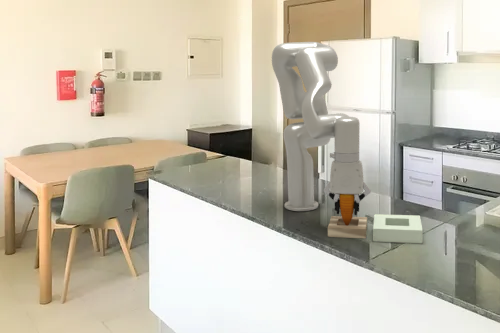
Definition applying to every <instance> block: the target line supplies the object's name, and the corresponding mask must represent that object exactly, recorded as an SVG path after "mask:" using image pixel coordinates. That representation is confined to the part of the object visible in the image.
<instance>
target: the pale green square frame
mask: <svg viewBox="0 0 500 333" xmlns="http://www.w3.org/2000/svg"><path fill="white" fill-rule="evenodd" d="M423 232H424V231H423V226H422V220H421V216H420V215H417V214H416V215H411V214H409V215H408V214H379V213H378V214H376V213H375V214H374V215H373V227H372V242H381V243H383V242H384V243H385V242H386V243H405V244H423V235H424V234H423Z"/></svg>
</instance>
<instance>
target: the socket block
mask: <svg viewBox="0 0 500 333" xmlns="http://www.w3.org/2000/svg"><path fill="white" fill-rule="evenodd" d="M367 230H368V217H366V216H353V217H352V219H351V222H350V223H349V225H348V226H346V225H345V223H344V221H343V219H342V216H339V215H334V216H333V215H331V217H330V220H329V222H328V226H327V237H329V238H347V239H348V238H351V239H367V232H368V231H367Z"/></svg>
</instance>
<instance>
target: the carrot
mask: <svg viewBox="0 0 500 333" xmlns="http://www.w3.org/2000/svg"><path fill="white" fill-rule="evenodd" d="M338 198H339V204H340V212H339V213H340V215H341V216H342V219H343V221H344V223H345V225H346V226H348V225H349V223H350V222H351V219H352V217H354V202H355V196H354V194H339V197H338Z"/></svg>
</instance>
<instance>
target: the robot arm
mask: <svg viewBox="0 0 500 333" xmlns="http://www.w3.org/2000/svg"><path fill="white" fill-rule="evenodd" d="M338 63H339V57H338V54H337V52H336V50H335V49H334V48H333V47H332V46H330V45H327V44H324V43H322V42H318V41H302V42H301V41H298V42H297V41H296V42H295V41H294V42H292V41H291V42H285V43H280V44H277V45H276V46H275V47H274V48H273V50H272V53H271V65H272V69H273V72H274V75H275V77H276V80H277V82H278V87H279V92H280V98H281V99H280V100H281V104H282V109H283V110H282V111H283V114H284V116H285V117H286V119H289V120H301V119H302V120H303V121H299V122H294V123H290V124H288V125H286V126H285V128H284V129H283V141H284V147H285V151H286V165H287V166H286V167H287V168H286V169H287V195H288V196H287V197H288V201H285V203H284V208H285V209H286V210H289V211H293V212H308V211H313V210H316V209H318V208H319V202H318V201H316V200H315V191H314V190H315V186H314V184H315V183H314V182H315V181H314V160H313V157H312V155H311V154H310V153H309V151H308V149H309V148H316V147H317V148H318V147H322V146H326V145H328V144H329V142H330V141H331V139H334V152H332V153H331V152H330V153H329V158H331V159H333V160H332V161H331V166H330V179H329V182H328V183H327V184H326V186H325V187H324V188H323V192H324V194H326V195H327V196H329V198H330V199H331V200H333V202H334V211H335V212H336V215H339V214H340V213H341V212H340V204H339V194H354V196H355V202H354V212H353V215H355V216H357V214H358V213H359V212H360V202H361V201H362V200H363V199H364V198H365V197H367V196H369V195H370V194H371V193H372V191H371V189H370V187H369V186H368V185H367V184H366V183H365V180H364V169H363V162H362V160H360V120H359V119H358V117H355V116H349V115H347V114H345V113H329V114H328V107H327V102H326V99H325V97H324V96H325V95H326V94H328V92H330V90H331V89H332V85H333V84H332V81H331V79H330V76H329V74H328V72H332V71H334V70H335V69H336V68H338V67H337V66H338ZM294 67H295V68H297V70H298V72H299V74H298V72H297V71H296V70H295V69H294ZM304 88H305V89H304Z"/></svg>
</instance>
